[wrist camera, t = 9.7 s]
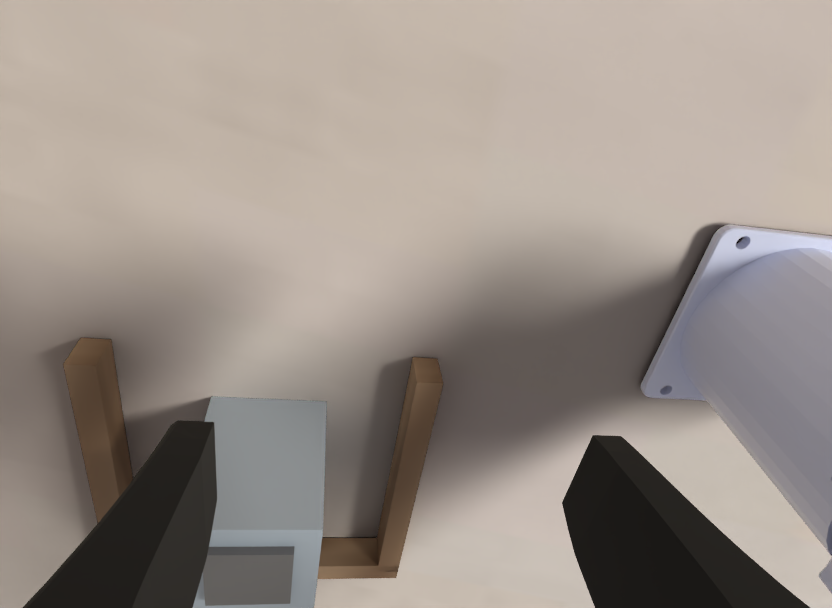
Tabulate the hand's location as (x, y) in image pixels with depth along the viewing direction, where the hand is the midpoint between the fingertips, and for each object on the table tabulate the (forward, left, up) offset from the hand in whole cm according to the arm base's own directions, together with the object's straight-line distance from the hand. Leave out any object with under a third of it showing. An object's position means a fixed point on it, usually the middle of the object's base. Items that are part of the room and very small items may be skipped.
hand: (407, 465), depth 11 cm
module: (+3, +10, -10) cm, 14 cm away
